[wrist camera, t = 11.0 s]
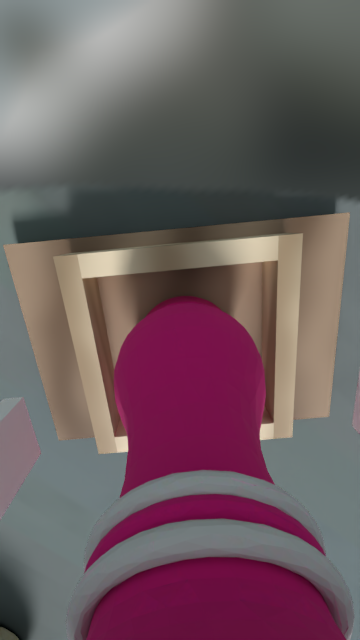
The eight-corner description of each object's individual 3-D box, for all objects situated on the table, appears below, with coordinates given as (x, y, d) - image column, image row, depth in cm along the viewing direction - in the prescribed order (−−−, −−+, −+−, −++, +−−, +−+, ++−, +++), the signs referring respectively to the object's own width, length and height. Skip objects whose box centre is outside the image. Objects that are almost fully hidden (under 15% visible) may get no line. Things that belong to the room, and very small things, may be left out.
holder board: (334, 214, 17) (382, 208, 13) (318, 404, 21) (350, 442, 17) (17, 244, 17) (-29, 246, 13) (66, 426, 21) (43, 468, 17)
